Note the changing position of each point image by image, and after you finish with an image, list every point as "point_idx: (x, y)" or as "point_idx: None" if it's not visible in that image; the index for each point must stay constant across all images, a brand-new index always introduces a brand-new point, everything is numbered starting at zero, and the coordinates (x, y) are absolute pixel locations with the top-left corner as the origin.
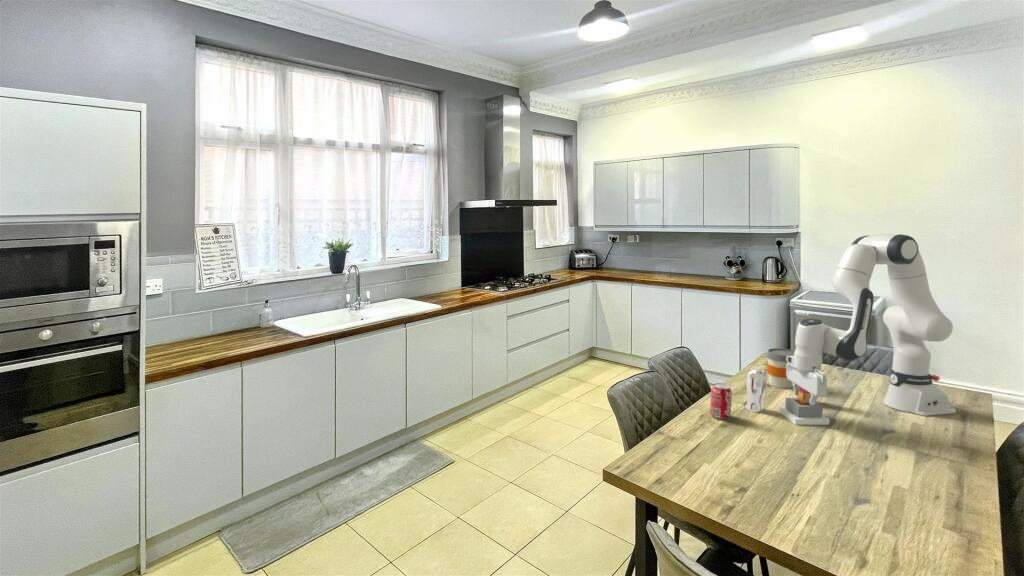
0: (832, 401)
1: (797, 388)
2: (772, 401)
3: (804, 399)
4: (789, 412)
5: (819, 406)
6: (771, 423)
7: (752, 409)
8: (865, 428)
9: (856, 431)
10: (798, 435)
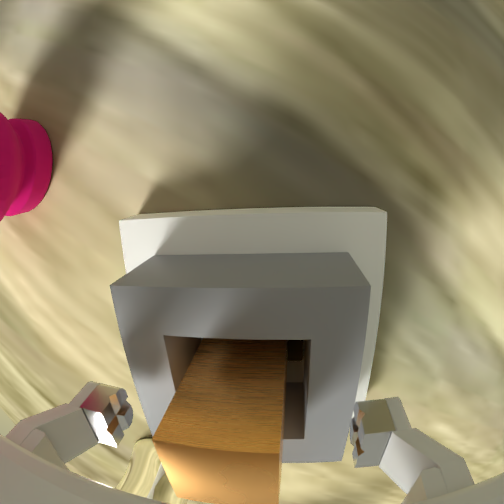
0: (26, 32)
1: (76, 432)
2: (50, 343)
3: (282, 447)
4: None
5: (358, 316)
6: (327, 470)
7: None
8: (408, 13)
9: (460, 96)
10: (452, 420)
